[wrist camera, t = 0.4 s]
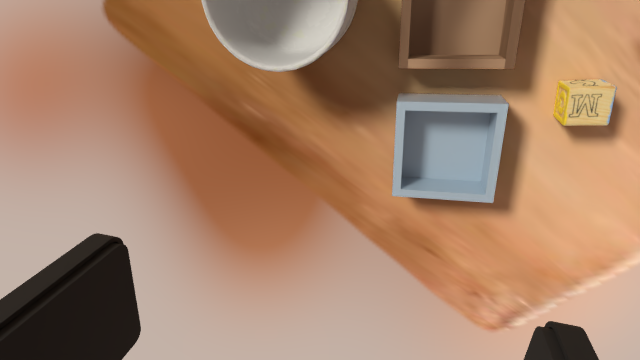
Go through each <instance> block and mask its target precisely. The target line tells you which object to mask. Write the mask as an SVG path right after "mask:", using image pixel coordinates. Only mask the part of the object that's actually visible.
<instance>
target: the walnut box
mask: <svg viewBox="0 0 640 360" xmlns="http://www.w3.org/2000/svg"><path fill="white" fill-rule="evenodd" d="M524 5H525V0H402V8H401V28H400V49H399V68H413V69H514V68H515V61H516V55H517V49H518V42H519V36H520V30H521V24H522V17H523V11H524Z"/></svg>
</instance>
